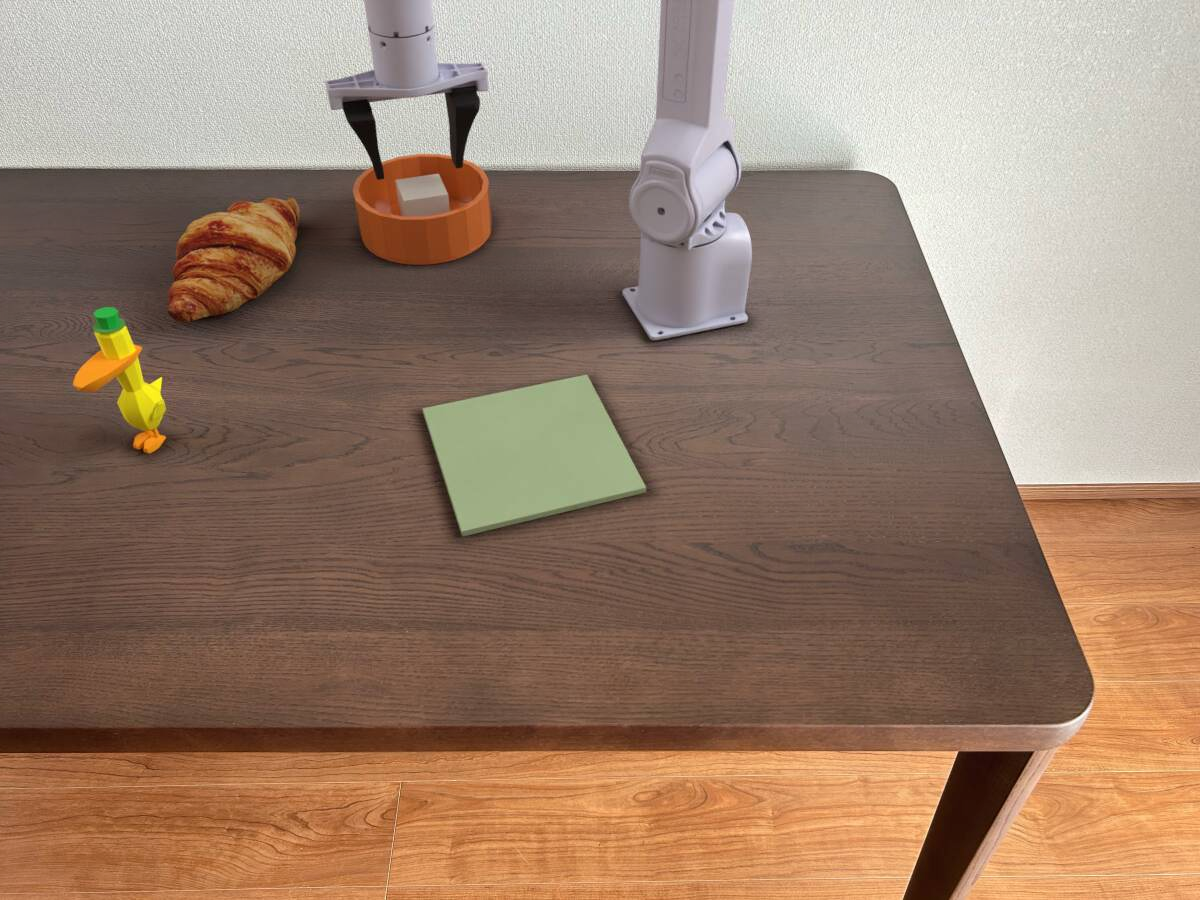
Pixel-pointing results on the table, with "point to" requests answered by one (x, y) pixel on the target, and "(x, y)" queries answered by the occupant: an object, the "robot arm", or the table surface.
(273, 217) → the croissant
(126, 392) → the toy figure
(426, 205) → the block
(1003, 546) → the table surface
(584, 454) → the mat
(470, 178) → the bowl
